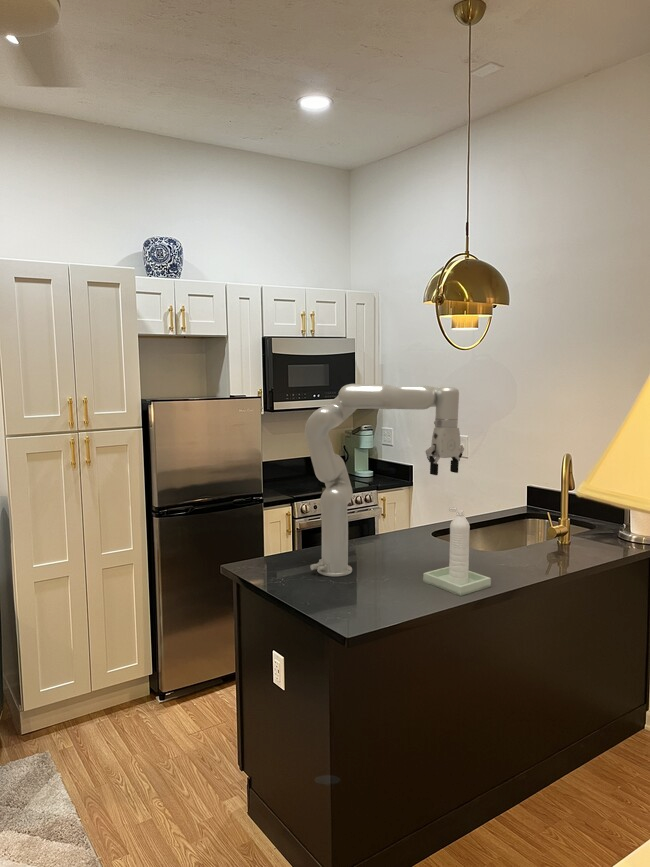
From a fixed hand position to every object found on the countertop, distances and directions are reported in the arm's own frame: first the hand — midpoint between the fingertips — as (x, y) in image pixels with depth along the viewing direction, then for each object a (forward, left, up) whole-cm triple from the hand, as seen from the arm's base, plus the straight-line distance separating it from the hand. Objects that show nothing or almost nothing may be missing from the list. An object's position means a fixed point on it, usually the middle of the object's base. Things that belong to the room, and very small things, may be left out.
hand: (444, 473), depth 223 cm
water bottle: (+1, -6, -37) cm, 37 cm away
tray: (+1, -6, -38) cm, 38 cm away
